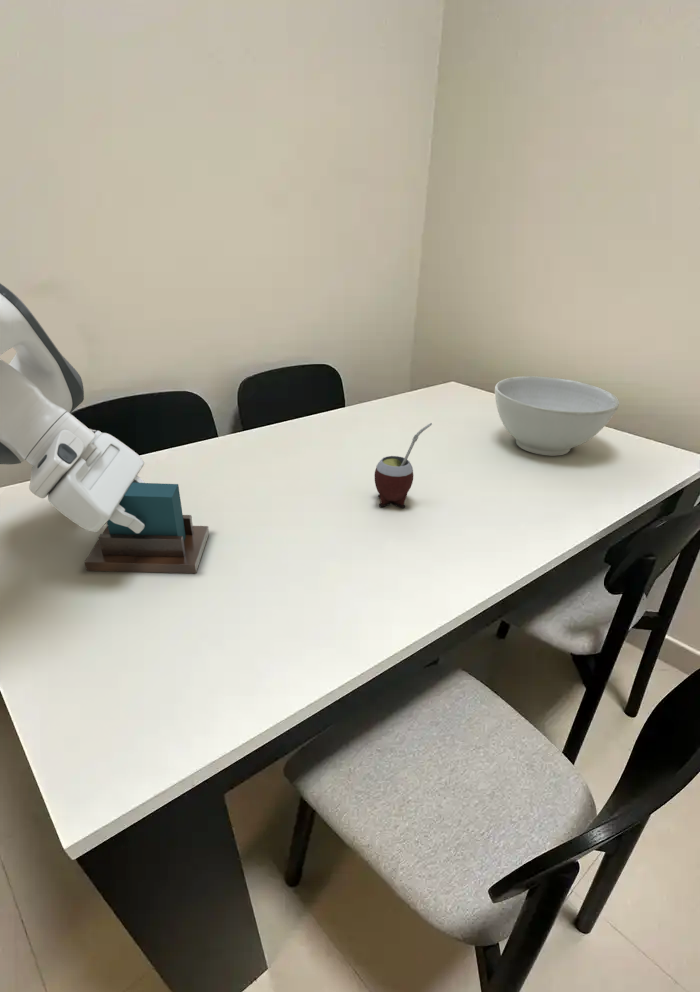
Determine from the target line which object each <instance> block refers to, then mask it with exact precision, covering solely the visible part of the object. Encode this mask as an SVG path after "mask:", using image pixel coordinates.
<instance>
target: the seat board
mask: <svg viewBox="0 0 700 992" xmlns="http://www.w3.org/2000/svg"><path fill="white" fill-rule="evenodd" d="M183 521H184V528H185V535H186V538H185V540H184V541H183V536H163V535H125V534H110V533H109V529H108V525H107V526H106V527H105V529H104V530H103V532H102V533H100V535H99V536H98V540H97V542H96V543H95V545H94V546H93V548H92V550H91V551H90V553H89V554H88V556H87V557H86V559H85V560H84V566H85V570H86V571H87V572H120V573H121V572H126V573H127V572H128V573H165V574H167V573H168V574H169V573H171V574H197V572H198V568H199V565H200V562H201V559H202V556H203V554H204V551H205V547H206V544H207V541H208V538H209V535H210V529H209V526H208V525H193V519H192V514H183Z"/></svg>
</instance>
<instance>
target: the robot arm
mask: <svg viewBox="0 0 700 992" xmlns="http://www.w3.org/2000/svg"><path fill="white" fill-rule="evenodd" d="M12 348H13V349H14V351H15V354H14V356H13V358H12V359H11V361H10V362H9V363H8V362H6V361H5V360H3V359H2V358H0V465H18V464H22V462H24V461H25V462H27V463H29V464H30V465H31V466H32V467H31V473H30V479H29V480H30V481H29V485H28V488H29V491H30V492H31V493H32V494H34V496H36V497H38V498H39V499H45V498H46V497H47V501H48V502H49V503H50V505H51V506H52V507H53V508H54V509H55V510H57V512H59V513H60V514H62V515H63V516H64V517H66V518H67V519H69V520H70V521H71V522H72V523H74V524H75V525H77V526H79V527H80V528H82V529H83V530H85V531H87V532H92V533H97V532H99V531H100V530H101V529H102V528H103V527H104V526H105V524H107V521H108V520H111V521H112V522H113V523H115V524H119V525H122V526H125V527H128V528H130V529H131V530H132V531H134V532H135V533H140V532H141V531H142V530H143V529H144V527H145V525H146V521H145V520H144V519H142V518H141V517H140V516H139V515H136V516H133V515H131V514H129V513H127V512H124V511H125V509H124V508H123V507H122V506H121V505H119V503H120V501H121V500H122V498H123V497H124V495H125V493H126V492H127V490H128V489H129V487H130V486H131V484H132V483H146V482H145V481H144V480H143V478H142V477H140V476H139V473H140V472H141V470H142V469H143V467H144V465H145V462H144V460H143V458H142V457H141V455H139V454H138V453H137V452H135V450H134V449H132V448H130V447H129V446H128V445H126V444H125V443H124V442H123V441H121V440H120V439H119V438H116V437H115V436H113V435H112V434H110V433H107V432H101V431H100V430H96V429H92V428H88V427H87V426H86V425H85V424H84V423H83V422H81V421H80V420H79V419H77V417H75V415H73V414H72V412H73V411H74V410H76V409H77V407H79V406H80V405H81V404H82V403H83V402H84V400H85V390H84V389H85V388H84V382H83V379H82V377H81V374H80V373H79V372H78V371H77V370H76V369H75V368H74V366H73V365H72V364H71V362H69V360H67V358H65V356H64V355H63V354H62V353H61V351H60V350H59V348H57V346H56V345H55V343H54V342H53V340H52V339H51V338H50V337H49V335H48V333H47V332H46V331H45V329H44V328H43V326H42V324H40V322H39V320H37V318H36V317H35V315H34V314H33V313H32V311H31V310H30V309H29V308H28V307H27V305H26V304H25V303H24V301H22V300H21V299H20V298H19V297H18V295H16V294H15V293H14V292H13V291H12V290H10V289H9V288H7V286H5V285H4V284H2V283H1V282H0V356H1V355H3V354H5V352H7V351H9V350H11V349H12Z"/></svg>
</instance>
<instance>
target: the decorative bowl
mask: <svg viewBox="0 0 700 992" xmlns="http://www.w3.org/2000/svg"><path fill="white" fill-rule="evenodd" d="M494 399H495V406H496V409H497V413H498V416H499V418H500V420H501V423H502V425H503V426H504V428H505V429H506V431H507V432H508V434H510V435H511V436H512V437H513V438H514V439H515V443H516V445H517V446H518V448H521V449H522V450H524V451H526V452H528V453H532V454H536V455H541V456H550V457H551V456H552V457H553V456H563V455H566V454H568V453H569V452H570V451H571V449H574V448H576V447H578V446H580V445H583V444H585V443H586V442H588V441H590V440H591V439H592V438H593V437H595V436H596V435H597V434H599V432H601V431H602V430H603V429H604V428H605V426H606V425H608V423H609V422H610V421H611V419H612V418H613V416H614V415H615V414H616V412H617V410H618V409H619V407H620V400H619V399H618V397H617V396H616V395H615V394H614V393H612V392H610V391H608V390H606V389H604V388H601V387H599V386H596V385H593V384H590V383H586V382H583V381H577V380H573V379H567V378H562V377H561V378H560V377H553V376H540V375H539V376H538V375H537V376H536V375H535V376H534V375H526V376H523V375H522V376H512V377H508V378H504V379H501V380H499V381H498V382H497V383H496V384H495V386H494Z"/></svg>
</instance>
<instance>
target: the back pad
mask: <svg viewBox="0 0 700 992" xmlns="http://www.w3.org/2000/svg"><path fill="white" fill-rule="evenodd" d="M119 505H121V506H122V507H123V508H124V509H125V511H124V512H127V513H129V514H131V515H133V516H136V515H139V516H140V517H141V518H142V519H144V520H145V521H146V525H145V527H144V529H143V530H142V531H141V532H140V533H135V532H134V531H132V530H131V529H130V528H128V527H125V526H122V525H119V524H115V523H113V522H112V521H111V520H108V521H107V522H106V524H107V526H108V529H109V533H110V534H125V535H163V536H183V541H184V540H185V538H186V535H185V528H184V521H183V515H184V514H183V509H182V501H181V494H180V487H179V484H178V483H160V482H159V483H158V482H156V483H155V482H145V483H132V484H131V486H130V487H129V489H128V490H127V492H126V493H125V495H124V497H123V498H122V500H121V501H120V503H119Z"/></svg>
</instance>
